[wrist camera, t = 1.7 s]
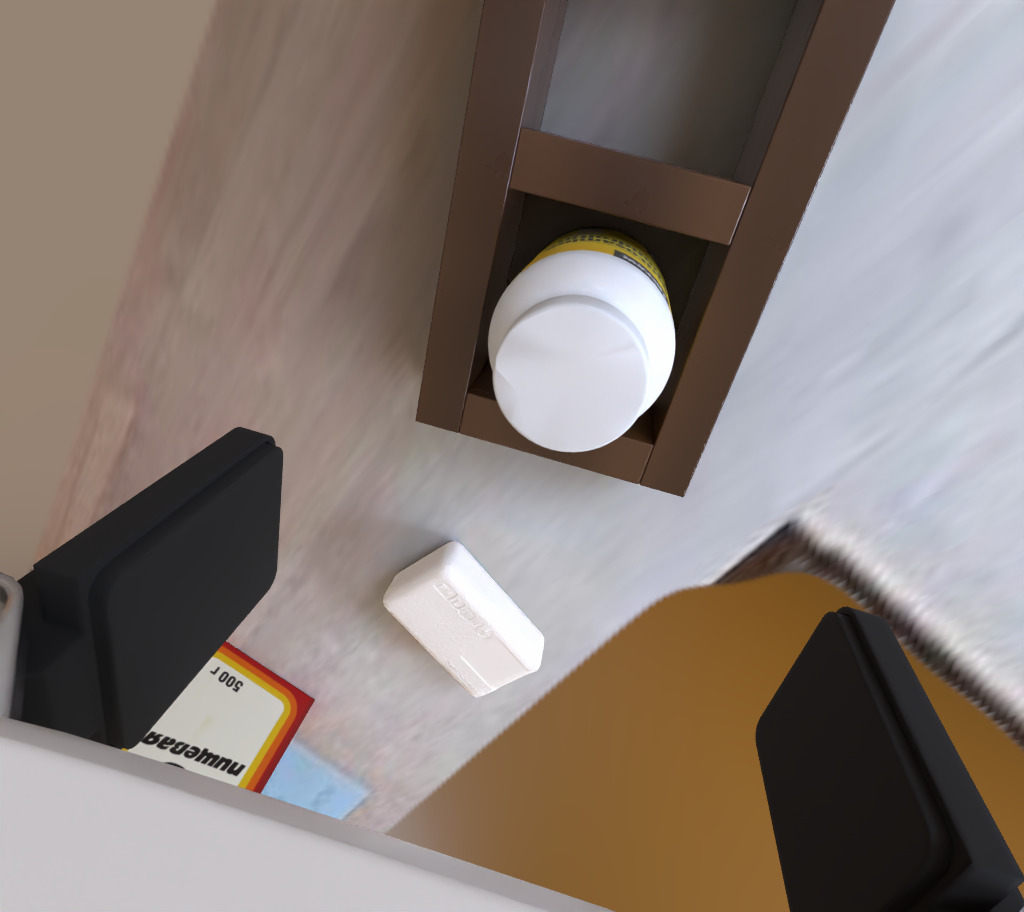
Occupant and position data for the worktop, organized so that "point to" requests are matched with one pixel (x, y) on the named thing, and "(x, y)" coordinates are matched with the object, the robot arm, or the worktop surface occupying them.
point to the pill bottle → (582, 340)
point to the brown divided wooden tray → (638, 197)
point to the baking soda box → (229, 722)
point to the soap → (465, 620)
